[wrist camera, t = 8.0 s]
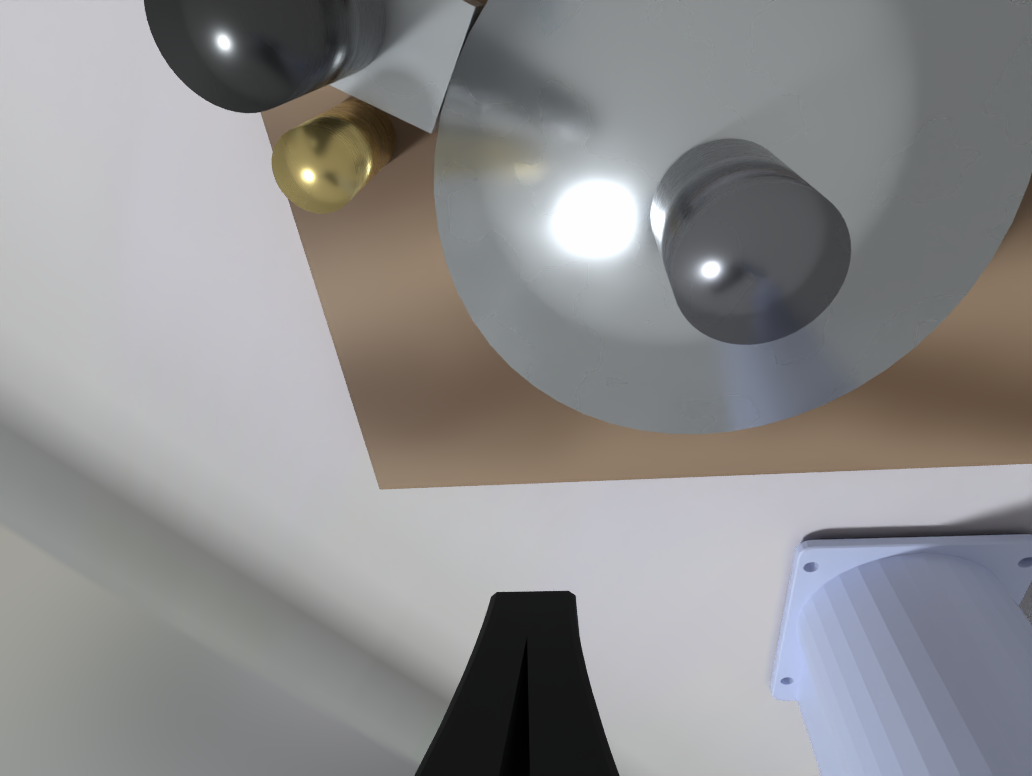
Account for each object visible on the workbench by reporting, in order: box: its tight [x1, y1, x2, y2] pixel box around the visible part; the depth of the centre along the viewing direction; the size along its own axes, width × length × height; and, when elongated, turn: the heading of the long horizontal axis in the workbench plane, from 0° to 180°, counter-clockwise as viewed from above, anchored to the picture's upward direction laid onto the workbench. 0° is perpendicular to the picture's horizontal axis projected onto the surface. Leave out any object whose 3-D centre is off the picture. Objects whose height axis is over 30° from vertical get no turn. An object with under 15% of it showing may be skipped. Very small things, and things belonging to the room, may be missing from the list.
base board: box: [261, 0, 1032, 489], centre depth 14 cm, size 20×20×1 cm
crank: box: [144, 0, 1032, 434], centre depth 12 cm, size 16×12×6 cm
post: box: [651, 138, 851, 345], centre depth 11 cm, size 3×3×3 cm
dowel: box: [272, 99, 396, 214], centre depth 13 cm, size 2×2×3 cm
